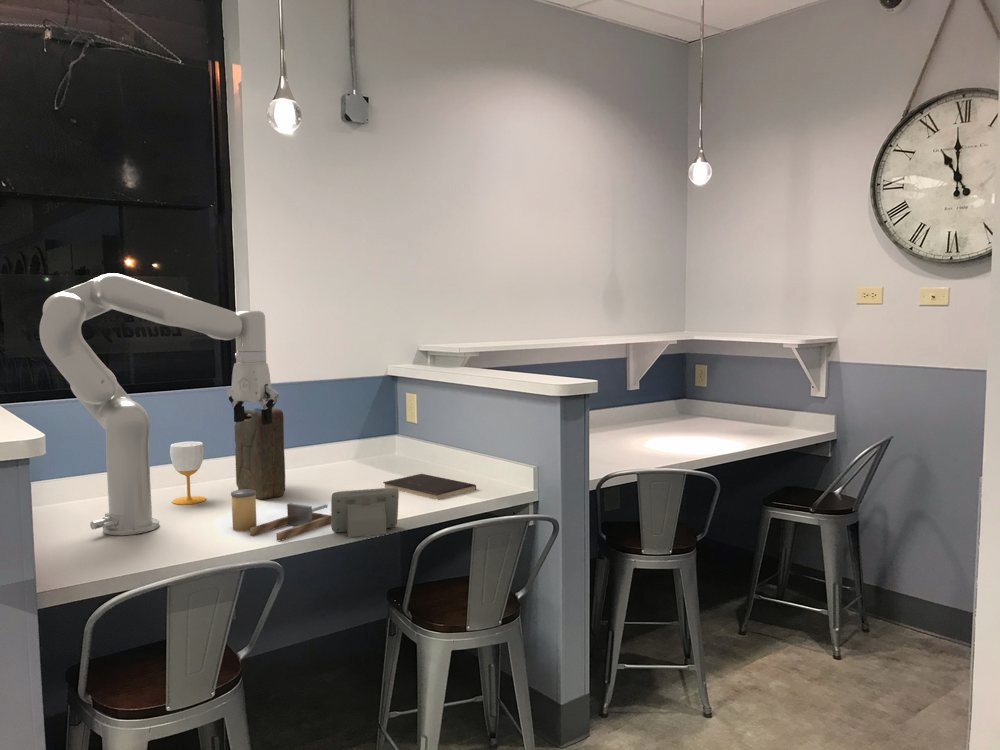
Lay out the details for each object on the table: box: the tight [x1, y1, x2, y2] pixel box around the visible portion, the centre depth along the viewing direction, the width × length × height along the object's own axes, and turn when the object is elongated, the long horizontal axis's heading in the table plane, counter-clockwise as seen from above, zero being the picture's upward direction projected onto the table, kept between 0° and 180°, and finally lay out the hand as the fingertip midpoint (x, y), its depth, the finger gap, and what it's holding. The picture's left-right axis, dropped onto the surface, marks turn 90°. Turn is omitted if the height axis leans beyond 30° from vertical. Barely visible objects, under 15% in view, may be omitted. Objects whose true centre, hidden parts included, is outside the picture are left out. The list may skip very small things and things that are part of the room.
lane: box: [249, 512, 331, 541], centre depth 199 cm, size 18×10×2 cm, turn 150°
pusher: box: [286, 502, 328, 526], centre depth 205 cm, size 10×7×5 cm
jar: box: [230, 489, 258, 532], centre depth 200 cm, size 6×6×9 cm
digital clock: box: [330, 487, 400, 538], centre depth 196 cm, size 16×9×11 cm, turn 95°
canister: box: [234, 407, 286, 500], centre depth 235 cm, size 19×8×25 cm, turn 41°
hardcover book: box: [382, 473, 477, 500], centre depth 240 cm, size 16×23×2 cm
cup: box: [169, 441, 207, 506], centre depth 227 cm, size 9×9×16 cm
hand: (253, 422), depth 215 cm, fingers open, 9 cm apart
